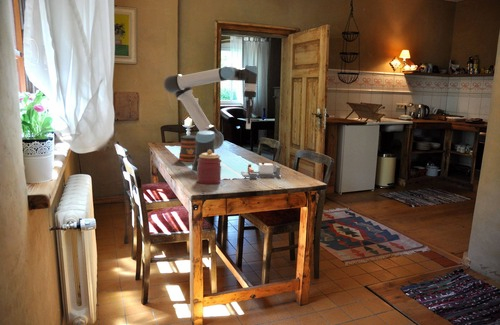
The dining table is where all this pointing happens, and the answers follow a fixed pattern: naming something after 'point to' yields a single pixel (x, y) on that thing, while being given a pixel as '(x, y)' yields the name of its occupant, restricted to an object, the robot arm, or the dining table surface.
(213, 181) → the canister
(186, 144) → the beer stein
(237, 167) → the dining table surface
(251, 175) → the coupler rail
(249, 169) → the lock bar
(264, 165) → the lock block
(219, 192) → the dining table surface
